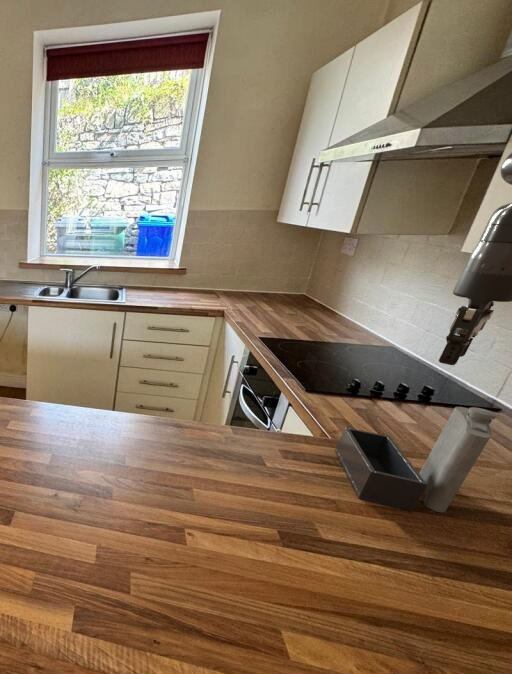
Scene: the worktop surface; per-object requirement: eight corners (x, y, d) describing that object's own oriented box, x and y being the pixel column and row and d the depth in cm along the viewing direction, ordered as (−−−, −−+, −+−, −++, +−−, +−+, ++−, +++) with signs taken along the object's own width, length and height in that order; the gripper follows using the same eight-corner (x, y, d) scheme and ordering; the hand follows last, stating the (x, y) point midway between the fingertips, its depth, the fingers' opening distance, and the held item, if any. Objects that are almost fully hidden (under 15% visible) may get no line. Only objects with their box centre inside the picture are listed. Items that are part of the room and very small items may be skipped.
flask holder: (378, 460, 97) (389, 436, 94) (412, 512, 80) (427, 484, 77) (334, 450, 100) (344, 427, 98) (358, 498, 83) (371, 471, 81)
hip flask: (417, 472, 93) (460, 394, 85) (442, 480, 90) (488, 400, 82) (424, 507, 81) (474, 421, 73) (452, 517, 79) (507, 429, 71)
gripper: (526, 276, 62) (474, 373, 68) (533, 270, 70) (486, 358, 76) (456, 270, 67) (414, 360, 74) (471, 265, 75) (431, 347, 82)
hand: (451, 359), depth 75 cm, fingers open, 8 cm apart
